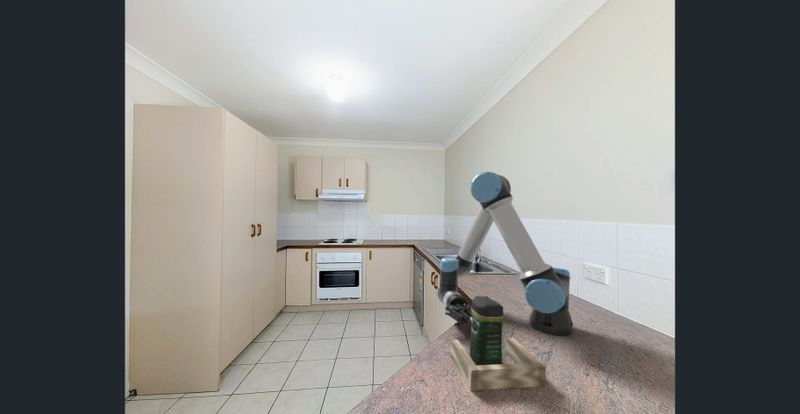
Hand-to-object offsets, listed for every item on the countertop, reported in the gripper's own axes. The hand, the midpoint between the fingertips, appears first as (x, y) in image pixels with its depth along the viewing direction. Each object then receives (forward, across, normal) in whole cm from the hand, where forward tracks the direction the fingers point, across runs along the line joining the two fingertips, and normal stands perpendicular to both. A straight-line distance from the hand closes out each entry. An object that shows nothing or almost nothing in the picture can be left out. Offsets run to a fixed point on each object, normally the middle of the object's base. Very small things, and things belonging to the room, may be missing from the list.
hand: (480, 329), depth 88 cm
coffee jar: (+5, 0, -8) cm, 9 cm away
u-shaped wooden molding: (+9, -1, -8) cm, 11 cm away
